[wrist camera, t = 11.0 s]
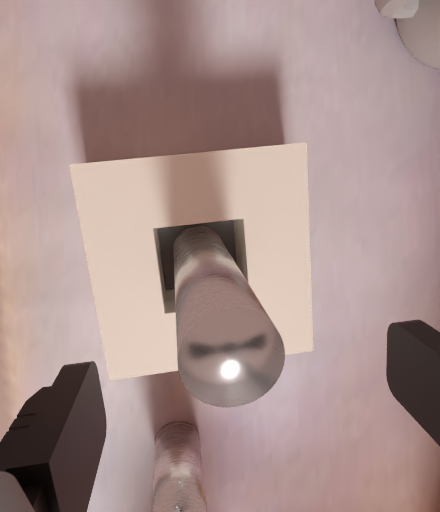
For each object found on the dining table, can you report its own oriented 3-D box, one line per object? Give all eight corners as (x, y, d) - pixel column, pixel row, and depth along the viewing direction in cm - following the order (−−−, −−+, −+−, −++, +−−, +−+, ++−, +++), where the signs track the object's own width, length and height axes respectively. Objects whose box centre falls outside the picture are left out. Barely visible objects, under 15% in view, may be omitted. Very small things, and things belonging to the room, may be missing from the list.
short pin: (197, 418, 28) (205, 501, 21) (201, 455, 29) (211, 546, 22) (152, 425, 28) (146, 511, 21) (158, 462, 28) (154, 557, 22)
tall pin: (220, 223, 25) (282, 302, 11) (225, 271, 25) (287, 398, 12) (170, 228, 24) (171, 317, 11) (176, 277, 25) (184, 415, 12)
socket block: (284, 144, 24) (306, 142, 20) (293, 323, 27) (313, 350, 23) (86, 163, 23) (68, 164, 19) (118, 347, 26) (109, 380, 22)
